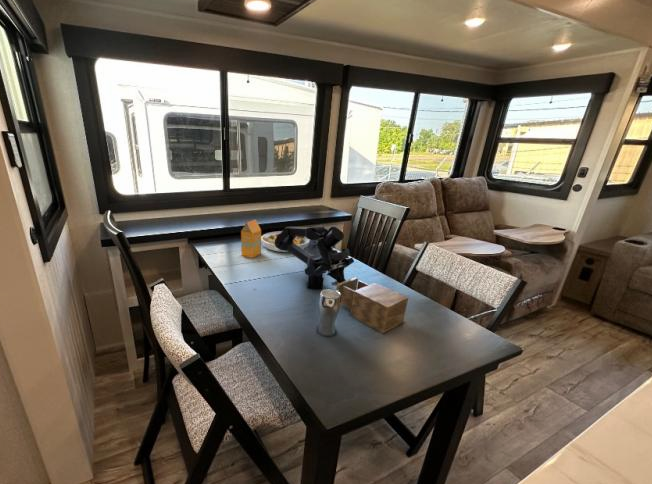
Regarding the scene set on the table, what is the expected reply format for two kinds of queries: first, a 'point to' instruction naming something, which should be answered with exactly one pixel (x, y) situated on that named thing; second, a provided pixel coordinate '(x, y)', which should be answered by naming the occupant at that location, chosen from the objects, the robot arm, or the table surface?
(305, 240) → the bowl
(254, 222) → the orange juice
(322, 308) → the beer glass
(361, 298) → the wooden box
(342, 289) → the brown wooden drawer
